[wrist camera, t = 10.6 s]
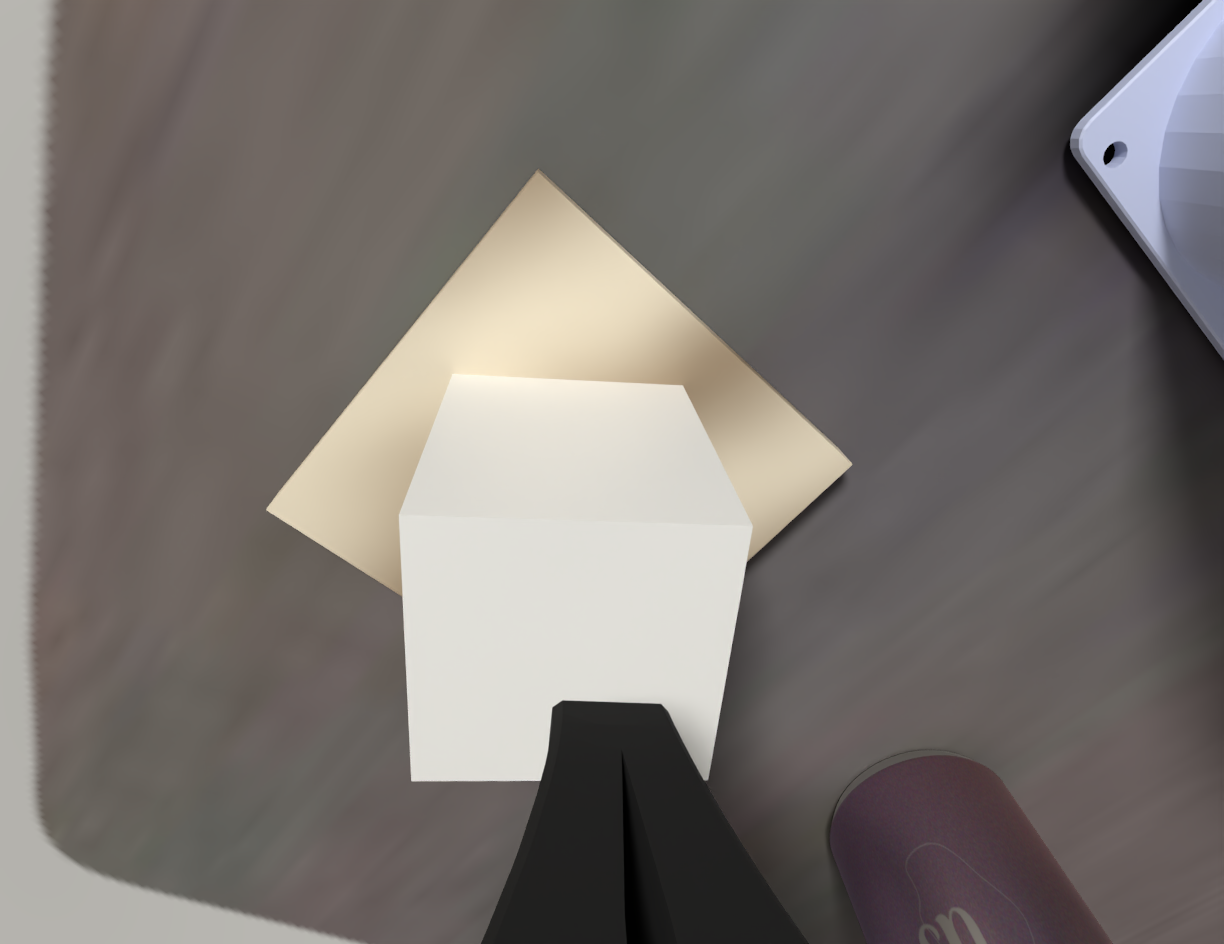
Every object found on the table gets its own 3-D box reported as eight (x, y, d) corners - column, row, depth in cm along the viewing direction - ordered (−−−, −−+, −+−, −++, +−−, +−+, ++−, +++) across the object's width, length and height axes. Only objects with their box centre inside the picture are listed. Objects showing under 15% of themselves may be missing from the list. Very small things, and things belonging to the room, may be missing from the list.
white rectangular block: (683, 385, 17) (753, 525, 11) (659, 577, 19) (708, 780, 13) (452, 373, 17) (399, 515, 11) (455, 572, 19) (411, 781, 13)
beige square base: (838, 448, 19) (950, 576, 14) (582, 687, 22) (592, 872, 17) (538, 168, 16) (532, 194, 11) (279, 490, 19) (168, 642, 13)
